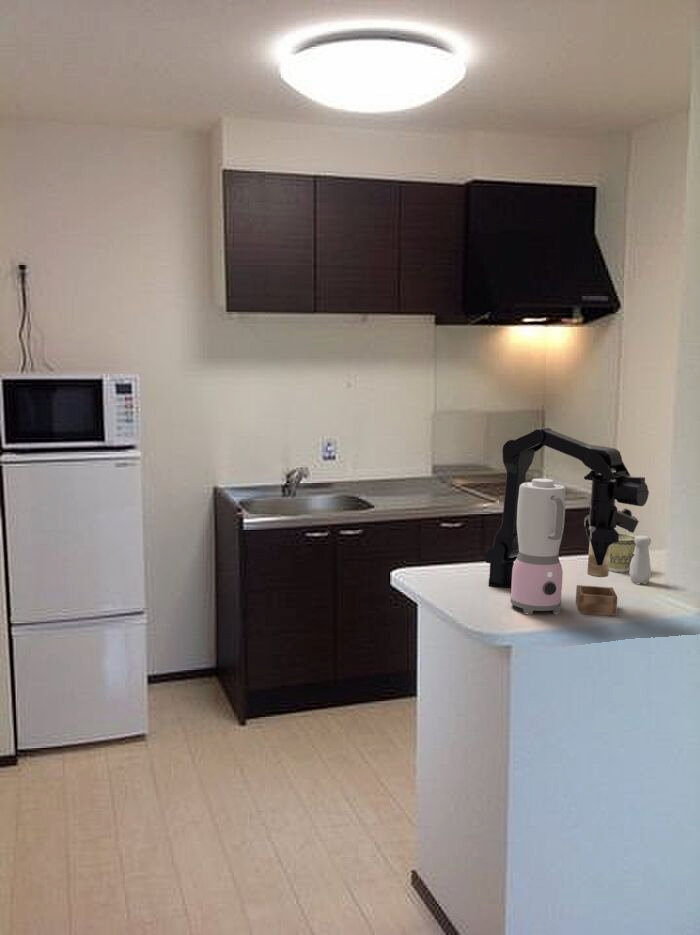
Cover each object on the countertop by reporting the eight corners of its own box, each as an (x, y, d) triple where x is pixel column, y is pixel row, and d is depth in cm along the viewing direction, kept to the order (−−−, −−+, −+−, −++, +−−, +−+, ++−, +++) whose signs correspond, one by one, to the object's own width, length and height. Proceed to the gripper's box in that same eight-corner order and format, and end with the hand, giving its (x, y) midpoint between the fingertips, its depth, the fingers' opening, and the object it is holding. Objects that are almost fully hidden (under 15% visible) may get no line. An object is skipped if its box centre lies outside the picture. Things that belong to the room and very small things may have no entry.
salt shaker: (651, 585, 241) (655, 539, 239) (629, 584, 242) (633, 537, 240) (649, 580, 247) (652, 534, 245) (627, 578, 248) (630, 533, 246)
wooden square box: (578, 613, 215) (579, 594, 214) (575, 602, 224) (576, 585, 223) (616, 615, 214) (617, 597, 213) (611, 605, 222) (612, 587, 222)
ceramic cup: (603, 573, 253) (606, 539, 252) (595, 564, 263) (597, 531, 262) (649, 575, 253) (652, 540, 251) (639, 566, 263) (641, 533, 261)
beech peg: (588, 576, 215) (591, 536, 214) (586, 571, 220) (589, 531, 219) (609, 577, 215) (612, 537, 213) (607, 572, 219) (609, 533, 218)
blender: (501, 602, 222) (508, 476, 218) (544, 599, 226) (552, 475, 221) (531, 621, 207) (539, 487, 203) (577, 618, 211) (586, 486, 206)
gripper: (643, 509, 204) (638, 574, 207) (631, 495, 223) (626, 555, 225) (594, 506, 206) (589, 571, 208) (586, 492, 224) (581, 552, 227)
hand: (598, 562), depth 217 cm, fingers closed on beech peg, 5 cm apart
